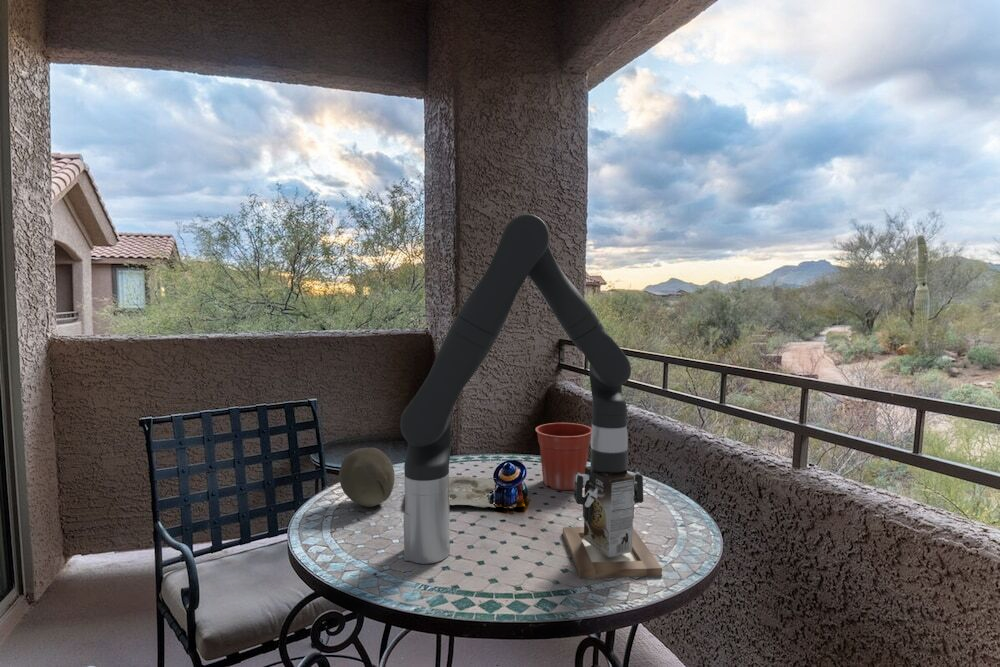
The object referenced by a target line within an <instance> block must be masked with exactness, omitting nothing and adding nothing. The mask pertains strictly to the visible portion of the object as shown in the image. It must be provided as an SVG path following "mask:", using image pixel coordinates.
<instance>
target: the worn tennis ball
mask: <svg viewBox="0 0 1000 667" xmlns="http://www.w3.org/2000/svg"><path fill="white" fill-rule="evenodd" d="M338 472H339V473H338V478H339V483H340V488H341V490H342V491H343V493H344V494H345V496H347V498H349V500H351V501H352V502H353V503H355V504H358V505H359V506H362V507H365V508H366V507H367V508H373V507H375V506H378V505H380V504H382V503H384V502H386V501H387V500H388V499H389V497H390V496H391V494H392V492H393V489H394V484H395V479H396V476H395V468H394V465H393V463H392V461H391V459H390V458H389V457H388V455H387V454H386V453H384V451H383V450H381V449H379V448H376V447H361V448H360V447H359V448H357V449H354V450H352V451H351V452H350V453H348V454H347V455H346V456H345V458H344V459H343V460H342V462H341V465H340V468H339V471H338Z"/></svg>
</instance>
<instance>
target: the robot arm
mask: <svg viewBox="0 0 1000 667" xmlns="http://www.w3.org/2000/svg"><path fill="white" fill-rule="evenodd" d="M549 244H550V233H549V229H548V226H547V224H546V222H544V220H542V218H540V217H539V216H537V215H535V214H531V213H524V214H520V215H517V216H514V217H513V218H512V219H510V220H509V221H508V223H506V225H505V227H504V228H503V231H502V234H501V237H500V240H499V243H498V246H497V249H496V251H495V252H494V255H493V257H492V259H491V261H490V263H489V265H488V268H487V270H486V271H485V273H484V275H483V276H482V277H481V279H480V280H479V282H478V283H477V285H476V286H475V287H474V289H473V290H472V291H471V293H470V294H469V296H468V297H467V298H466V299H465V302H464V304H463V305H462V306H461V308H460V310H459V311H458V313H457V315H456V317H455V318H454V320H453V322H452V323H451V326H450V328H449V329H448V332H447V334H446V336H445V338H444V340H443V342H442V343H441V344H442V345H441V346H440V348H439V351H438V353H437V355H436V357H435V360H434V362H433V365H432V366H431V369H430V371H429V373H428V375H427V376H426V378H425V380H424V382H423V383H422V385H421V386H420V388H419V389H418V391H417V392H416V394H415V395H414V396H413V398H412V399H411V400H410V402H409V404H408V405H407V406H406V407H405V408H404V410H403V412H402V414H401V417H400V426H399V428H400V431H401V434H402V437H403V438H404V440H405V441H406V442H407V450H406V454H405V455H406V456H405V460H404V464H403V465H404V469H403V470H404V471H403V472H404V513H403V516H402V517H403V519H402V520H403V561H408V562H409V561H410V562H411V563H417V564H422V565H423V564H424V565H425V564H426V565H429V564H434V563H439V562H440V561H441V562H442V561H443V560H445V559H446V558H448V556H449V555H450V552H451V551H450V549H451V548H450V547H451V546H450V545H451V540H450V539H451V537H450V535H451V534H450V533H451V532H450V531H451V529H450V524H451V523H450V505H449V500H450V498H449V477H450V461H451V460H450V459H451V453H452V452H451V450H452V449H451V448H452V447H451V445H452V441H451V440H452V437H451V436H452V420H451V414H452V410H453V408H454V406H455V403H456V402H457V401H458V398H459V396H460V395H461V393H462V391H463V389H464V388H465V386H467V384H468V383H469V381H470V380H471V378H472V377H473V376H474V374H476V372H477V371H478V369H480V366H481V365H482V364H483V362H484V360H485V359H486V357H487V355H488V354H489V353H490V351H491V350H492V347H493V346H494V344H495V342H496V341H497V339H498V337H499V335H500V333H501V330H502V329H503V327H504V324H505V323H506V320H507V318H508V317H509V314H510V311H511V309H512V307H513V303H514V301H515V299H516V296H517V295H518V292H519V291H520V288H521V286H522V285H523V284H524V282H525V281H526V279H527V278H530V279H531V281H532V282H533V284H534V285H535V286H536V287H537V289H538V290H539V292H540V293H541V295H542V297H544V300H545V301H546V303H547V305H548V306H549V308H550V309H551V312H552V313H553V315H554V316H555V317H556V320H557V321H558V322H559V324H560V325H561V328H563V331H565V333H566V335H567V336H568V337H569V339H570V341H571V342H572V343H573V345H574V346H575V347H576V348H577V349H578V350H579V351H580V352H581V353H582V354H583V355H584V357H585V358H586V360H587V361H588V362H589V383H590V384H589V385H590V392H591V398H592V407H591V408H592V409H591V411H592V412H591V413H592V415H591V428H592V430H591V436H590V444H589V445H590V466H591V469H590V472H589V474H580V473H579V472H577V473H576V474H575V487H574V490H573V492H574V493H573V498H574V501H575V502H576V504H578V505H582V517H583V521H584V520H585V521H586V522H587V524H591V506H590V505H591V504H592V503H593V501H594V500H595V499H597V494H596V493H597V492H598V488H596V489H595V490H594V492H592V491H591V490H589V491H588V492H587V493H586V495H585V494H584V496H583V489H584V486H585V484H586V481H587V480H590V482H591V483H592V485H593V486H594V487H595V486H596V474H597V473H628V474H630V475H632V476H634V502H633V519H634V516H635V515H634V514H635V505H636V504H638V503H639V504H641V503H642V504H643V502H644V479H643V475H642V474H641V473H640V472H639V471H637V470H635V471H634V472H630V473H629V472H628V444H629V443H628V441H629V439H628V437H629V436H628V428H627V424H628V421H627V417H628V416H627V415H628V413H627V412H628V408H627V401H626V400H625V398H624V396H623V392H622V391H623V388H622V387H623V385H624V384H626V383H627V382H628V381H629V380H630V377H631V374H632V365H631V362H630V360H629V358H628V357H627V355H626V353H625V352H624V351H623V350H622V348H621V347H620V346H619V345H618V344H617V342H616V341H615V340H614V339H613V337H612V336H611V335H610V334H609V333H608V331H607V330H606V329H605V327H604V325H603V324H602V322H601V321H600V319H599V318H598V316H597V315H596V313H595V311H594V310H593V308H592V307H591V306H590V304H589V302H588V301H587V300H586V298H585V297H584V296H583V295H582V294H581V293H580V292H579V290H578V289H577V288H576V286H575V285H574V284H573V283H572V282H571V281H570V279H569V278H568V277H567V275H566V274H565V273H564V271H563V269H562V268H561V266H560V265H559V263H558V262H557V260H556V258H555V257H554V255H553V254H554V253H553V252H552V250H551V247H550V245H549ZM583 485H584V486H583Z"/></svg>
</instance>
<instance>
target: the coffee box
mask: <svg viewBox="0 0 1000 667" xmlns="http://www.w3.org/2000/svg"><path fill="white" fill-rule="evenodd" d="M590 469H591V465H587V466H586V467H585V474H589V472H590ZM628 473H629V472H628ZM628 473H597V474H596V486H595V487H594V486H593V485H592V483H591V482H590V480H587V481H586V484H585V485H584V496H585V495H586V493H587V492H588V491H589V490H591V491H592V492H594V490H595V489H596V488H598V492H597V493H596V494H597V499H595V500H594V501H593V503H592V504H591V505H590V506H591V524H587V522H586V521H585V520H584V519H583V527H584V540H586V541H587V542H588V543H590V544H591V545H592V546H594V547H595V548H596V549H598V550H599V551H600V552H602V553H603V554H604V555H606V556H607V557H613V556H617V555H621V554H626V553H630V552H632V533H633V528H634V527H633V525H634V524H633V523H634V518H633V502H634V476H632V475H630V474H628Z"/></svg>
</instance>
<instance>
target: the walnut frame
mask: <svg viewBox="0 0 1000 667" xmlns="http://www.w3.org/2000/svg"><path fill="white" fill-rule="evenodd" d="M562 535H563V538H564V541H565V543H566V546H567V549H568V551H569V554H570V556H571V559H572V561H573V565H574V566H575V569H576V572H577V574H578V577H579V579H593V578H595V579H599V578H622V577H623V578H627V577H629V578H630V577H656V576H657V577H662V576H663V568H662V566H661V565H660V563H659V562H658V561H657V559H656V558H655V555H653V553H652V551H651V550H650V549H649V548H648V546H647V545H646V544H645V542H644V540H643V539H642V538H641V536H640V535H639V534H638V532H637V531H636V530H635V528H634V527H633V533H632V552H630V553H626V554H621V555H617V556H613V557H607V556H606V555H604V554H603V553H602V552H600V551H599V550H598V549H596V548H595V547H594V546H592V545H591V544H590V543H588V542H587V541H586V540H584V526H565V527H564V526H563V527H562Z"/></svg>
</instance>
